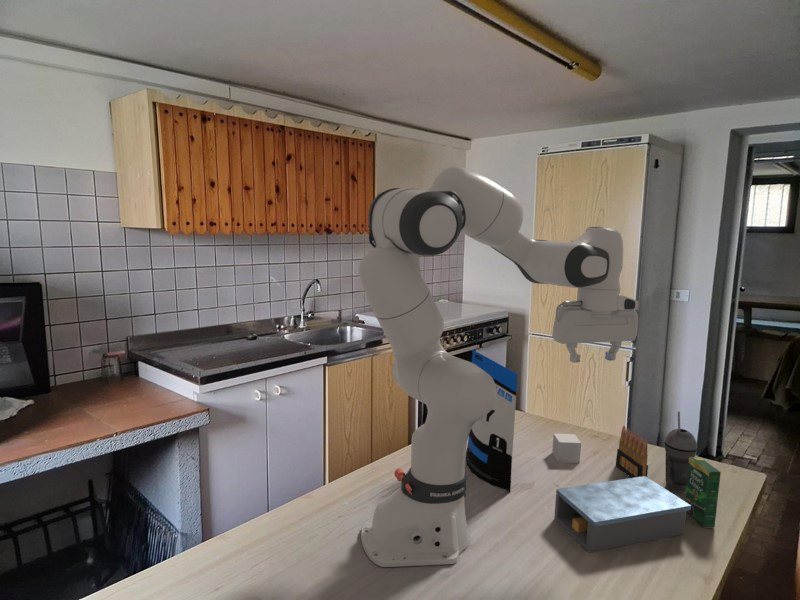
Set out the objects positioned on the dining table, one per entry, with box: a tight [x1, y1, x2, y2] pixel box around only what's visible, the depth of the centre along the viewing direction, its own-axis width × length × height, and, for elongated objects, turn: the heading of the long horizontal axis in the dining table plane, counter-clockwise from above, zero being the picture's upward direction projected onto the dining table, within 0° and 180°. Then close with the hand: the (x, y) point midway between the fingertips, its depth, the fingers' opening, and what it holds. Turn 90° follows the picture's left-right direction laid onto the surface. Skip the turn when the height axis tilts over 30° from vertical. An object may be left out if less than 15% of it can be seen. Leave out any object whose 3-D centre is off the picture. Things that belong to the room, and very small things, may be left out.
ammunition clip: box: [615, 425, 649, 478], centre depth 134 cm, size 11×2×12 cm, turn 11°
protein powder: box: [465, 349, 518, 493], centre depth 134 cm, size 10×24×30 cm, turn 18°
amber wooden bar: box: [572, 517, 588, 532], centre depth 111 cm, size 22×2×2 cm, turn 107°
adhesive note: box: [551, 433, 582, 464], centre depth 144 cm, size 6×6×6 cm
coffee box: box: [684, 456, 721, 529], centre depth 114 cm, size 8×3×13 cm, turn 179°
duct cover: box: [555, 476, 691, 527], centre depth 110 cm, size 24×13×1 cm, turn 107°
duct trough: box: [553, 494, 687, 553], centre depth 111 cm, size 24×12×6 cm, turn 107°
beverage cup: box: [663, 411, 698, 494], centre depth 127 cm, size 7×7×20 cm
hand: (592, 360), depth 115 cm, fingers open, 8 cm apart
